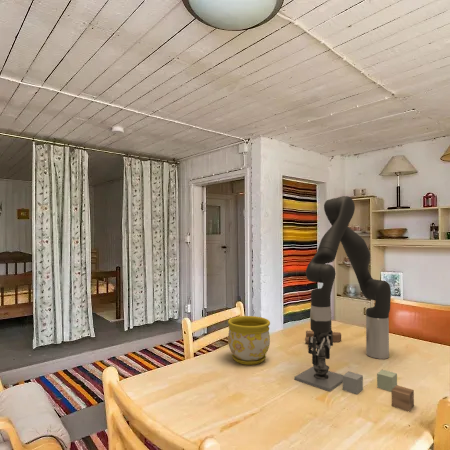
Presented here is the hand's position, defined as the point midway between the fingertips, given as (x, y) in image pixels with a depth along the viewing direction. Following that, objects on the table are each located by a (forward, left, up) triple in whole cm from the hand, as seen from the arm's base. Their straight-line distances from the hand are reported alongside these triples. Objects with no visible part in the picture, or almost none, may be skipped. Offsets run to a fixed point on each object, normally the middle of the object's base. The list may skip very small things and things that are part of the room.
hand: (321, 361), depth 128 cm
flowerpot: (+3, -32, -7) cm, 33 cm away
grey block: (0, +12, -7) cm, 14 cm away
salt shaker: (0, 0, -6) cm, 6 cm away
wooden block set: (-37, -18, -7) cm, 42 cm away
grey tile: (0, 0, -7) cm, 7 cm away
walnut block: (0, +28, -7) cm, 29 cm away
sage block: (-10, +20, -7) cm, 23 cm away
